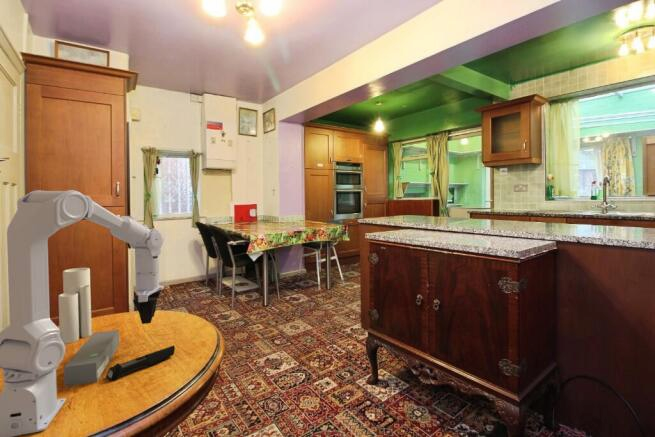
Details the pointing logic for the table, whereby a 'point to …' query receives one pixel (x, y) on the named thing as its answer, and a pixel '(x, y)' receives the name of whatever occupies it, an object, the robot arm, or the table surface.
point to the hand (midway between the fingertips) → (148, 320)
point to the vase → (75, 305)
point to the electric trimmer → (139, 363)
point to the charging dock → (91, 358)
